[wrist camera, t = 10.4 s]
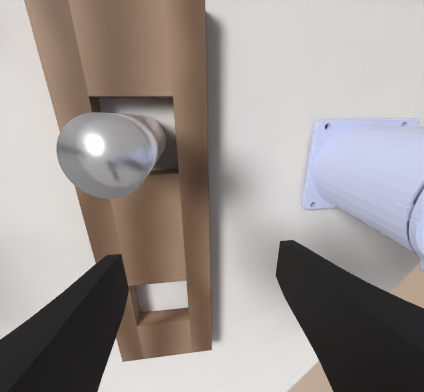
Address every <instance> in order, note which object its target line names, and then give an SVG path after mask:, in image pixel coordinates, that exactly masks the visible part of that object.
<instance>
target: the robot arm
mask: <svg viewBox="0 0 424 392" xmlns="http://www.w3.org/2000/svg"><path fill="white" fill-rule="evenodd" d="M402 123H403V124H402ZM419 123H420V122H419V120H418V119H358V120H319V121H317V122H316V123H315V125H314V129H313V135H312V141H311V148H310V154H309V160H308V166H307V172H306V178H305V185H304V191H303V197H302V203H301V206H302V207H303V208H304V209H306V210H309V209H325V208H340V209H342V210H343V211H345V212H347V213H348V214H350V215H352V216H353V217H355V218H357V219H358V220H360V221H362V222H363V223H365V224H367V225H369V226H370V227H372V228H374V229H375V230H377V231H379V232H380V233H382V234H384V235H385V236H387V237H389V238H390V239H392V240H394V241H395V242H397V243H399V244H400V245H402V246H404V247H405V248H407V249H409V250H411V251H412V252H414V253H416V254H417V255H418V256H419V258H420V266H419V268H420V269H421V270H422V271H424V127H419ZM326 124H328V127H327V129H325V125H326ZM401 125H402V126H401ZM312 202H314V203H313V205H311V203H312ZM276 277H277V280H278V283H279V285H280V288H281V290H282V292H283V295H284V297H285V299H286V301H287V303H288V304H289V306H290V308H291V310H292V312H293V313H294V315H295V317H296V319H297V321H298V322H299V324H300V326H301V328H302V329H303V331H304V333H305V335H306V337H307V338H308V340H309V342H310V344H311V346H312V347H313V349H314V351H315V353H316V355H317V357H318V359H319V361H320V363H321V365H322V368H323V370H324V372H325V374H326V376H327V378H328V380H329V383H330V385H331V387H332V389H333V392H424V309H423V308H421V307H419V306H417V305H414V304H412V303H409V302H407V301H405V300H403V299H401V298H399V297H397V296H394V295H392V294H390V293H388V292H386V291H384V290H382V289H380V288H378V287H376V286H373V285H371V284H370V283H368V282H366V281H364V280H362V279H360V278H358V277H356V276H354V275H353V274H351V273H349V272H347V271H345V270H343V269H342V268H340V267H338V266H336V265H335V264H333V263H331V262H330V261H328V260H326V259H324V258H323V257H321V256H319V255H318V254H316V253H314V252H313V251H311V250H309V249H308V248H306V247H304V246H303V245H301V244H299V243H297V242H295V241H293V240H288V241H280V247H279V254H278V262H277V270H276ZM128 293H129V287H128V282H127V278H126V273H125V268H124V263H123V259H122V254H113V255H106V256H105V257H104V258H102V259H101V260H100V261H99V262H98V263H96V264H95V265H94V266H93V267H92V268H91V269H90V270H88V271H87V272H86V273H85V274H84V275H83V276H81V277H80V278H79V279H78V280H77V281H76V282H74V283H73V284H72V285H71V286H70V287H69V288H67V289H66V290H65V291H64V292H63V293H61V294H60V295H59V296H58V297H56V298H55V299H54V300H52V301H51V302H50V303H49V304H47V305H46V306H45V307H44V308H42V309H41V310H40V311H39V312H37V313H36V314H35V315H34V316H32V317H31V318H30V319H28V320H27V321H26V322H24V323H23V324H22V325H20V326H19V327H17V328H16V329H15V330H13V331H12V332H10V333H9V334H8V335H6V336H5V337H3V338H2V339H0V392H97V391H98V388H99V385H100V382H101V378H102V375H103V373H104V370H105V367H106V364H107V361H108V358H109V355H110V353H111V350H112V347H113V344H114V341H115V338H116V335H117V333H118V330H119V327H120V324H121V321H122V318H123V315H124V311H125V307H126V302H127V298H128Z"/></svg>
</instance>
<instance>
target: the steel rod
mask: <svg viewBox="0 0 424 392" xmlns="http://www.w3.org/2000/svg"><path fill="white" fill-rule="evenodd" d="M165 146H166V136H165V133H164V130H163V128H162V127H161V126H160V124H159V123H158V122H157V121H155V120H154V119H152V118H151V117H148V116H145V115H133V114H117V113H100V112H92V113H85V114H82V115H79V116H77V117H75V118H73V119H72V120H70V121H69V122H68V123H67V124H66V125H65V126H64V127H63V129H62V130H61V132H60V134H59V137H58V141H57V157H58V161H59V164H60V166H61V168H62V170H63V172H64V174H65V175H66V176H67V178H68V179H69V180H70V181H71V182H72V183H73V184H74V185H75V186H76V187H78V188H79V189H80V190H82V191H84V192H86V193H87V194H90V195H92V196H95V197H99V198H105V199H115V198H121V197H124V196H127V195H129V194H131V193H133V192H134V191H135V190H137V189H138V188H139V187H140V186H141V185H142V183H143V182H144V180H145V179H146V177H147V176H148V174H149V173H150V171H151V170H152V168H153V167H154V165H155V164H156V162H157V161H158V159H159V158H160V156H161V155H162V153H163V152H164V150H165Z"/></svg>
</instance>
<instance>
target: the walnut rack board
mask: <svg viewBox="0 0 424 392" xmlns="http://www.w3.org/2000/svg"><path fill="white" fill-rule="evenodd" d="M24 1H25V5H26V9H27V12H28V16H29V20H30V23H31V27H32V31H33V34H34V38H35V42H36V45H37V49H38V53H39V56H40V60H41V64H42V67H43V71H44V75H45V78H46V82H47V86H48V89H49V93H50V97H51V100H52V104H53V108H54V111H55V115H56V119H57V122H58V126H59V130H60V132H61V130H62V129H63V127H64V126H65V125H66V124H67V123H68V122H69V121H70V120H72V119H73V118H75V117H77V116H79V115H82V114H85V113H92V112H100V113H101V111H100V106H99V101H98V98H173V103H174V117H175V130H176V144H177V157H178V169H166V170H151V171H150V173H149V174H148V176H147V177H146V179H145V180H144V182H143V183H142V185H141V186H140V187H139V188H138V189H137V190H135V191H134V192H133V193H131V194H129V195H127V196H124V197H121V198H115V199H105V198H99V197H95V196H92V195H90V194H87V193H86V192H84V191H82V190H80V189H79V188H78V187H76V186H75V188H76V192H77V196H78V199H79V203H80V207H81V210H82V214H83V218H84V221H85V225H86V229H87V232H88V236H89V240H90V243H91V247H92V251H93V254H94V258H95V262H96V263H98V262H99V261H100V260H101V259H102V258H104V257H105V256H106V255H113V254H122V259H123V263H124V268H125V273H126V278H127V282H128V287H129V293H128V298H127V302H126V307H125V311H124V315H123V318H122V321H121V324H120V327H119V330H118V333H117V335H116V339H117V342H118V346H119V350H120V353H121V357H122V361H123V362H124V361H132V360H139V359H147V358H154V357H162V356H169V355H177V354H184V353H192V352H199V351H207V350H212V340H211V287H210V234H209V182H208V129H207V76H206V23H205V0H24ZM186 280H187V292H188V306H189V308H182V309H173V310H164V311H155V312H146V313H140V310H139V305H138V300H137V295H136V290H135V285H144V284H155V283H165V282H175V281H186Z"/></svg>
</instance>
